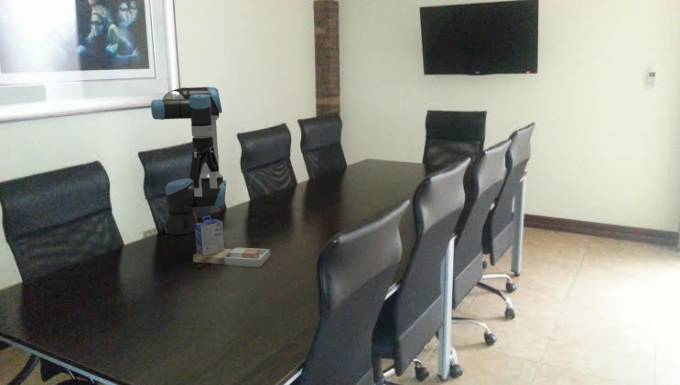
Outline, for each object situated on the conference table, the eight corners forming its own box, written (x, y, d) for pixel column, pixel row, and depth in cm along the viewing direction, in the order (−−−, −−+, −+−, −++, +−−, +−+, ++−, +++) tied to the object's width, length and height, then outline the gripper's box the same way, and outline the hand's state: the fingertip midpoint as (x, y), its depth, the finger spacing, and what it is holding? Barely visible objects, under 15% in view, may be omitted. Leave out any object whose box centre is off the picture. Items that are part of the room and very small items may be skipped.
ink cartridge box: (217, 247, 224) (215, 212, 220) (225, 250, 220) (223, 215, 217) (195, 253, 217) (193, 217, 214) (203, 256, 213) (200, 220, 210)
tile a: (230, 259, 215) (229, 252, 214) (235, 255, 219) (234, 248, 219) (242, 260, 214) (241, 253, 213) (247, 256, 218) (246, 249, 218)
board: (193, 261, 215) (192, 255, 214) (204, 253, 225) (204, 247, 224) (224, 264, 212) (224, 257, 212) (234, 255, 222) (234, 249, 221)
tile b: (242, 260, 213) (242, 253, 213) (247, 256, 218) (246, 249, 218) (254, 261, 212) (254, 254, 212) (259, 257, 217) (259, 249, 217)
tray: (224, 265, 211) (224, 257, 211) (236, 254, 223) (236, 247, 222) (259, 267, 209) (259, 259, 208) (270, 256, 220) (270, 249, 219)
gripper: (196, 141, 195) (200, 200, 200) (225, 132, 219) (228, 185, 224) (177, 141, 197) (181, 199, 202) (207, 132, 220) (210, 184, 225)
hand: (206, 192), depth 213 cm, fingers open, 13 cm apart
